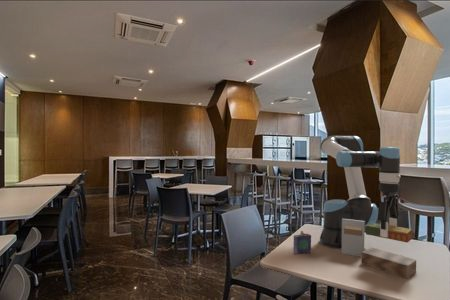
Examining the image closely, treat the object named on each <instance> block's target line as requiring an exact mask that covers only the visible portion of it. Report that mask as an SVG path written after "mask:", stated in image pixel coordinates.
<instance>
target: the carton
mask: <svg viewBox="0 0 450 300" xmlns="http://www.w3.org/2000/svg"><path fill="white" fill-rule="evenodd" d="M365 235H368V236H371V237H372V236H373V237H377V238H382V239H388V240H392V241H398V242H402V243H410V241H411V240H412V239H413V229H412V228H408V227H401V226H397V227H396V226H390V225H389V224H388V238H386V237H382V236H380V223H377V222H375V223H373V222H372V223H370V224H368V225H366V226H365Z"/></svg>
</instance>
